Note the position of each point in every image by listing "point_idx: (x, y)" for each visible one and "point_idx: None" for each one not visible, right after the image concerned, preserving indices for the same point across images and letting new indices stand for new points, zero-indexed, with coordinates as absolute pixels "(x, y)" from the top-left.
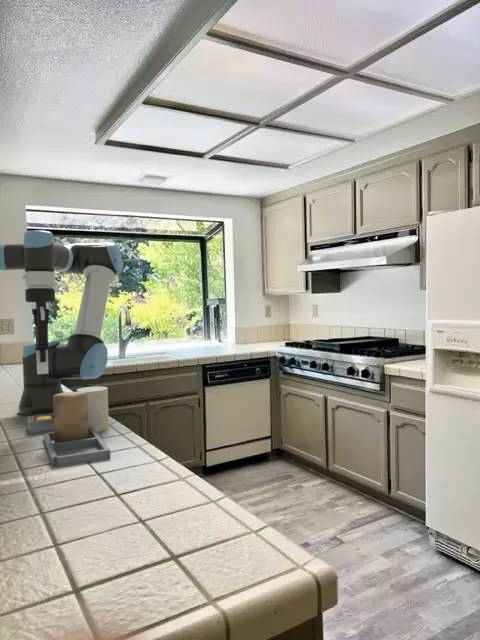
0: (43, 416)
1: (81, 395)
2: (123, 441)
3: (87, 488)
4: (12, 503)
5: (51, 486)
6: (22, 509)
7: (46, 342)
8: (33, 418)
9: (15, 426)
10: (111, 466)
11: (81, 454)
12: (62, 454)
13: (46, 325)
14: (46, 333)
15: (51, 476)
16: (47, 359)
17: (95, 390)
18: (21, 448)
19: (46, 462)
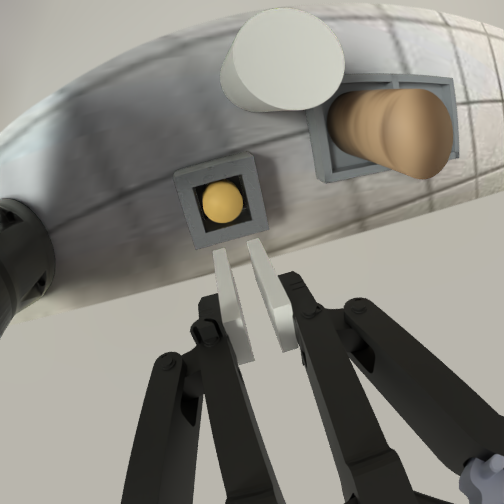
0: (205, 209)
1: (441, 108)
2: (353, 30)
3: (490, 122)
4: (491, 189)
5: (478, 156)
6: (500, 179)
7: (387, 322)
8: (223, 229)
9: (147, 272)
10: (454, 82)
11: (457, 119)
12: None
13: (472, 399)
14: (430, 360)
15: (460, 156)
16: (275, 273)
17: (328, 49)
18: (335, 214)
19: None
